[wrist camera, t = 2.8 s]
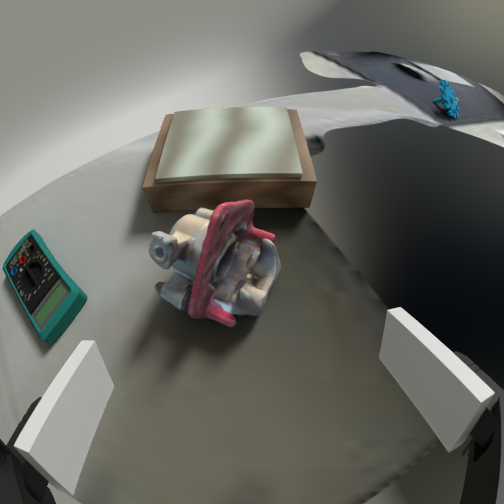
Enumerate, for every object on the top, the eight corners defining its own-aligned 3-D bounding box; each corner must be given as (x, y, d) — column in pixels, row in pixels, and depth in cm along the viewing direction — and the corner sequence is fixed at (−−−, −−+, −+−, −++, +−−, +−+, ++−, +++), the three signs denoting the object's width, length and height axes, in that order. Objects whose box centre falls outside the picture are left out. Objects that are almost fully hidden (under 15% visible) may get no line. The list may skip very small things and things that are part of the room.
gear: (450, 116, 44) (439, 76, 41) (430, 119, 49) (420, 80, 46) (464, 119, 47) (455, 83, 45) (447, 120, 53) (438, 86, 50)
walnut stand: (153, 212, 31) (140, 183, 26) (171, 138, 37) (164, 111, 33) (309, 207, 31) (317, 177, 27) (293, 133, 38) (296, 106, 33)
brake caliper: (274, 358, 21) (158, 275, 14) (192, 332, 28) (101, 268, 21) (317, 244, 26) (246, 142, 19) (236, 247, 33) (167, 175, 26)
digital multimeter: (40, 235, 30) (29, 223, 27) (92, 300, 26) (78, 290, 23) (10, 273, 27) (-2, 263, 24) (55, 348, 23) (39, 342, 20)
